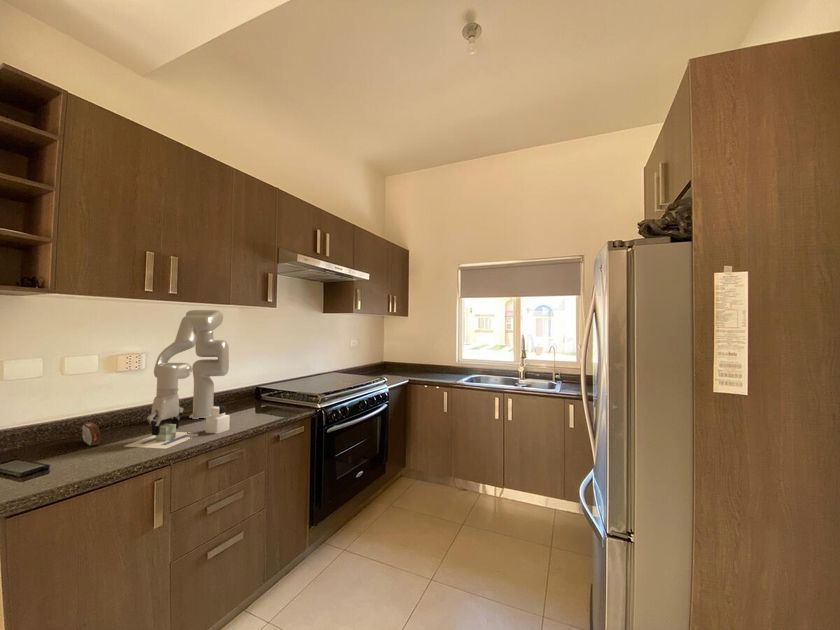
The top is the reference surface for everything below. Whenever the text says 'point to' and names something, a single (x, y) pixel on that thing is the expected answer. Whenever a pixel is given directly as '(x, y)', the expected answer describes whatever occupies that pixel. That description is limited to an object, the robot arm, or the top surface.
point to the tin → (91, 434)
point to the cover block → (166, 432)
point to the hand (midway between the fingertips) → (165, 431)
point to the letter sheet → (152, 442)
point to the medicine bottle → (217, 420)
